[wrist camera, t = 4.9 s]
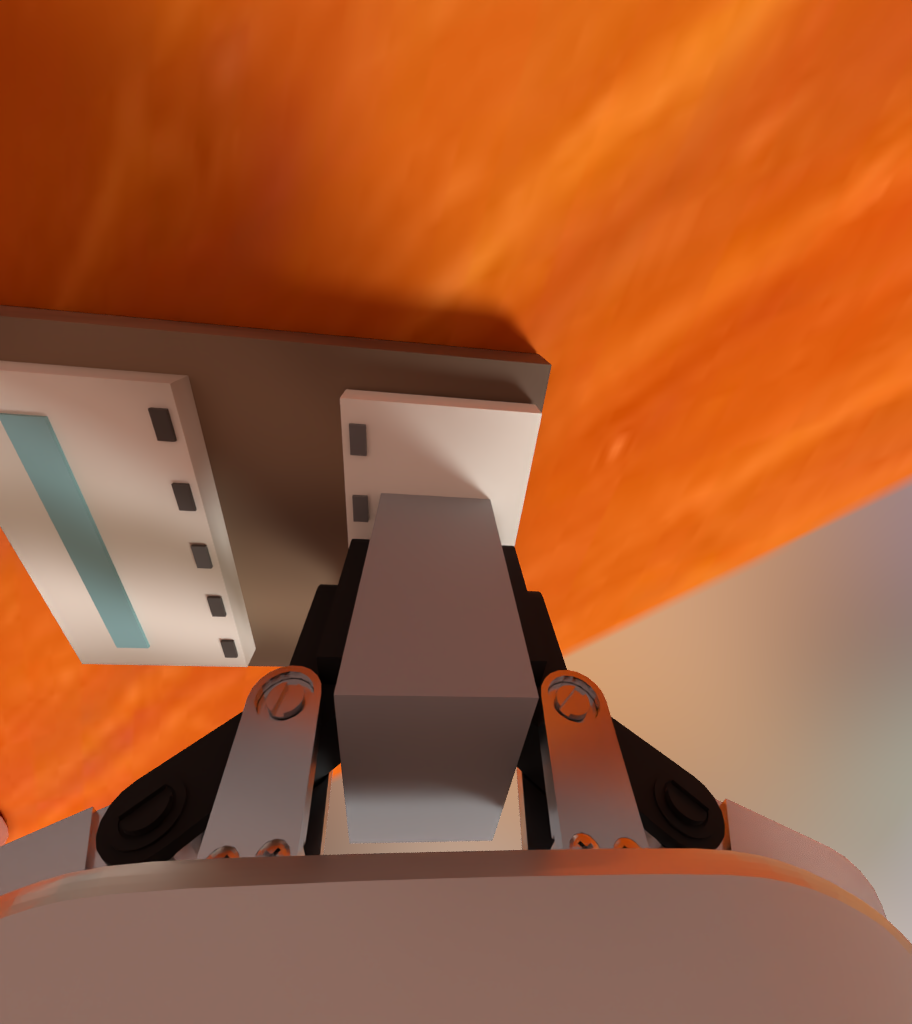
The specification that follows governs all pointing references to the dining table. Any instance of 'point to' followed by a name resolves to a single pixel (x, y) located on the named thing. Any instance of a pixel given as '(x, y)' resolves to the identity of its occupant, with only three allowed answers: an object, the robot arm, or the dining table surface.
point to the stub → (433, 615)
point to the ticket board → (196, 472)
